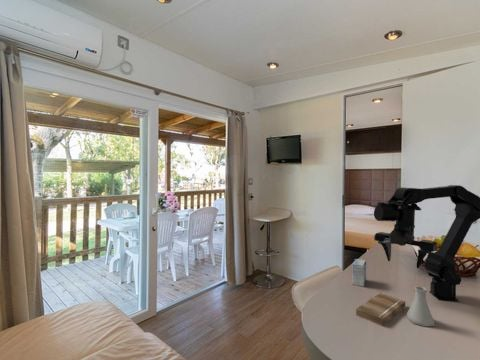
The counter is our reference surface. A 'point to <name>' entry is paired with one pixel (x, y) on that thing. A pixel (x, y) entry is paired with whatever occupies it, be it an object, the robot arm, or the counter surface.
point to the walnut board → (380, 308)
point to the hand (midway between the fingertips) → (402, 264)
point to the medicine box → (359, 272)
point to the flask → (420, 309)
